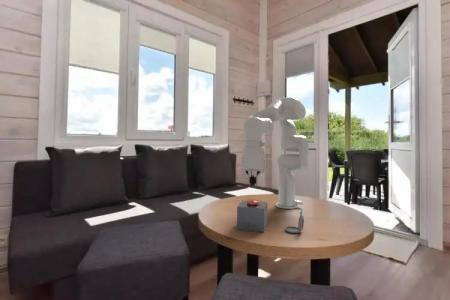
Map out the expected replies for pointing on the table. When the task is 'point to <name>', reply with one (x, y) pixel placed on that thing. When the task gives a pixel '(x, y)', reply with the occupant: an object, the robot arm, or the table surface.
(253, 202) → the lynch pin
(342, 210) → the table surface
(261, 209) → the block
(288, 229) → the pocket watch
